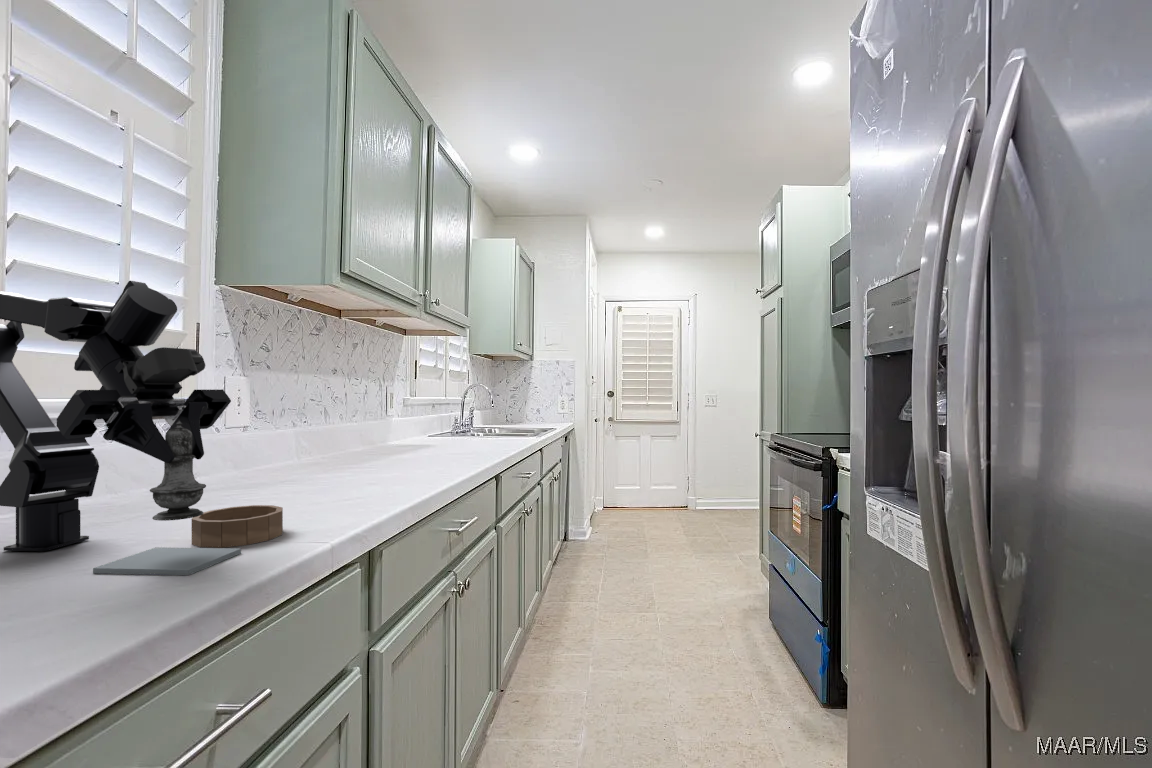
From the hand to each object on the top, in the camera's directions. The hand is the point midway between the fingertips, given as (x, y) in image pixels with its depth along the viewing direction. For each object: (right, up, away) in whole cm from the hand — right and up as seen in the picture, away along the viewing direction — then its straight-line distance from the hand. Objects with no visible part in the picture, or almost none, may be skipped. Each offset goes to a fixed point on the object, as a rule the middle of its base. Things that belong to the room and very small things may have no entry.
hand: (186, 458), depth 72 cm
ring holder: (0, -13, +12) cm, 17 cm away
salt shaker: (-1, -7, 0) cm, 8 cm away
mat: (-1, -13, -1) cm, 13 cm away
